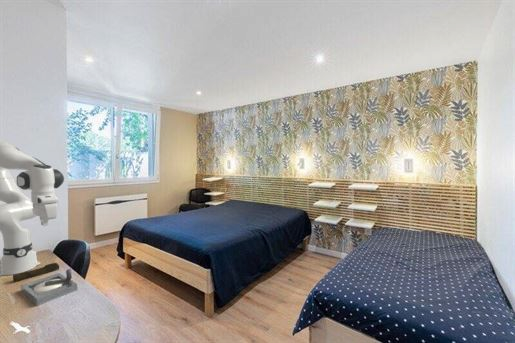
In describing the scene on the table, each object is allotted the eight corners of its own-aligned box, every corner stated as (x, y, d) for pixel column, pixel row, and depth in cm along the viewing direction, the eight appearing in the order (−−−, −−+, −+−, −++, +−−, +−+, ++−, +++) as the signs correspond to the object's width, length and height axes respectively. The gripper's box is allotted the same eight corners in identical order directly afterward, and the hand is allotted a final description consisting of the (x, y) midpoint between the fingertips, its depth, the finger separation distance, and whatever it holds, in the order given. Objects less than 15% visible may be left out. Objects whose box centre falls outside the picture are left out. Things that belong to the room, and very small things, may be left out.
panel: (21, 291, 118) (20, 285, 118) (60, 277, 131) (60, 272, 131) (37, 305, 106) (36, 298, 106) (78, 289, 120) (78, 283, 119)
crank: (39, 285, 121) (38, 270, 121) (75, 279, 127) (74, 265, 127) (29, 296, 111) (28, 280, 111) (68, 289, 117) (67, 274, 117)
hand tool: (13, 283, 126) (13, 275, 126) (13, 281, 129) (12, 272, 129) (60, 271, 140) (59, 263, 140) (58, 269, 143) (58, 261, 143)
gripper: (27, 196, 123) (28, 223, 124) (43, 201, 112) (44, 230, 113) (43, 194, 129) (44, 220, 129) (59, 199, 118) (60, 227, 119)
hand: (44, 225), depth 121 cm, fingers closed
